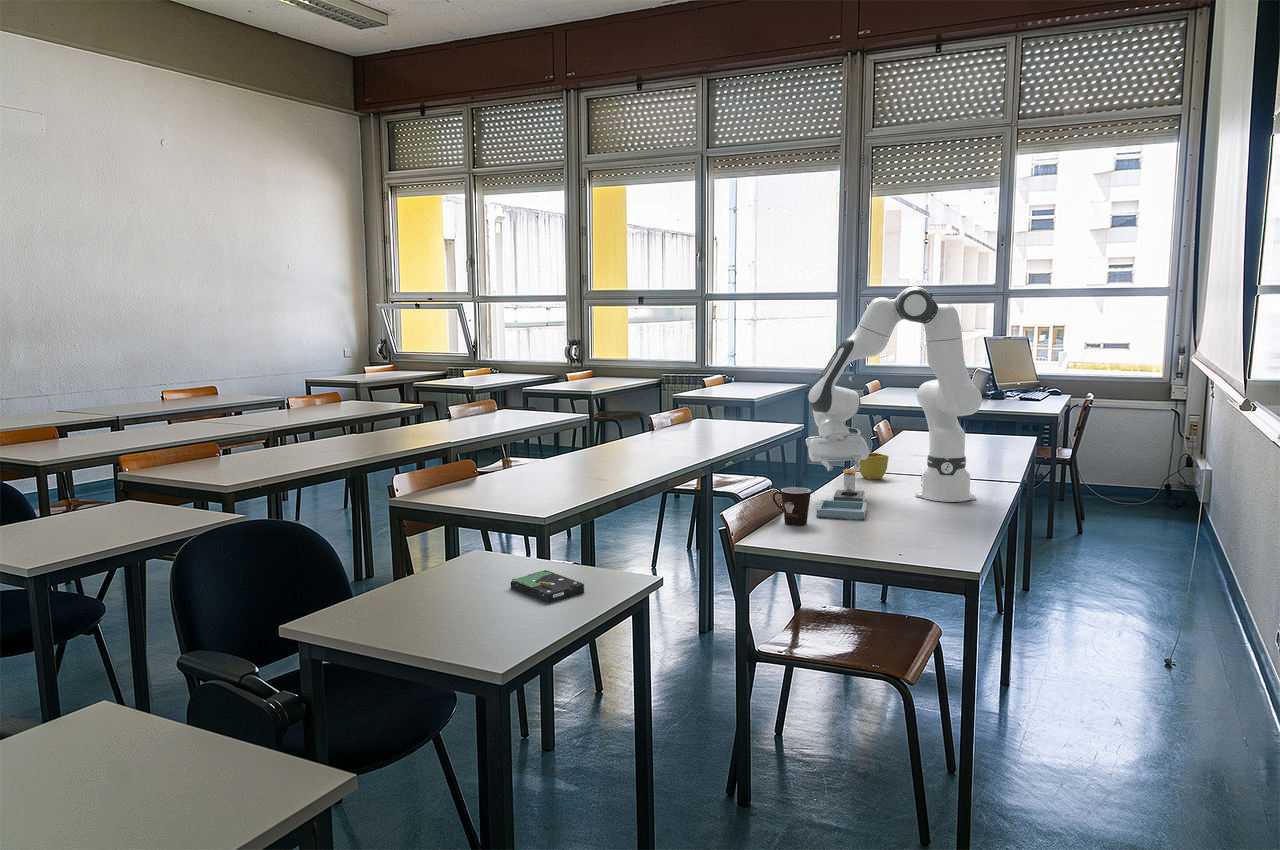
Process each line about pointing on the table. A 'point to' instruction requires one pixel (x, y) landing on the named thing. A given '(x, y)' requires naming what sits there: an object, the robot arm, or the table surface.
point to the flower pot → (874, 466)
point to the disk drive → (547, 586)
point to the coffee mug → (794, 505)
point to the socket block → (841, 497)
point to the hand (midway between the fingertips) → (844, 469)
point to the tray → (842, 509)
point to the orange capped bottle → (849, 481)
